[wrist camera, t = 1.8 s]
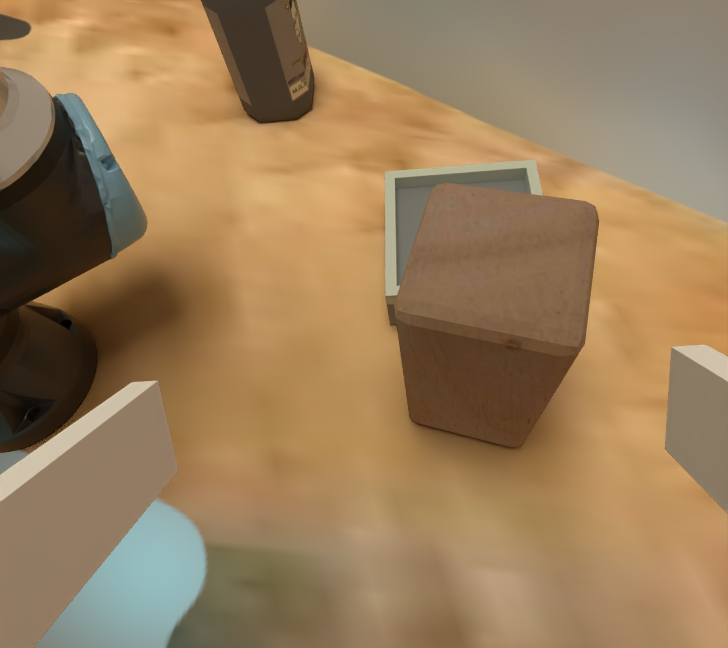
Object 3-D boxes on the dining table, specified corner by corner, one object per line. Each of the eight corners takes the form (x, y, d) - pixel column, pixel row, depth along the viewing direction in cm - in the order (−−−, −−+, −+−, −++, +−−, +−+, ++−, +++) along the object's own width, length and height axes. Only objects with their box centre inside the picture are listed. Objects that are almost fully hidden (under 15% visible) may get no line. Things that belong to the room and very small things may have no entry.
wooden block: (522, 453, 41) (588, 352, 23) (405, 423, 43) (387, 311, 26) (539, 348, 45) (606, 196, 28) (432, 326, 48) (431, 173, 30)
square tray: (390, 325, 48) (385, 295, 43) (389, 207, 55) (384, 171, 50) (548, 318, 46) (561, 286, 42) (526, 198, 53) (535, 159, 49)
